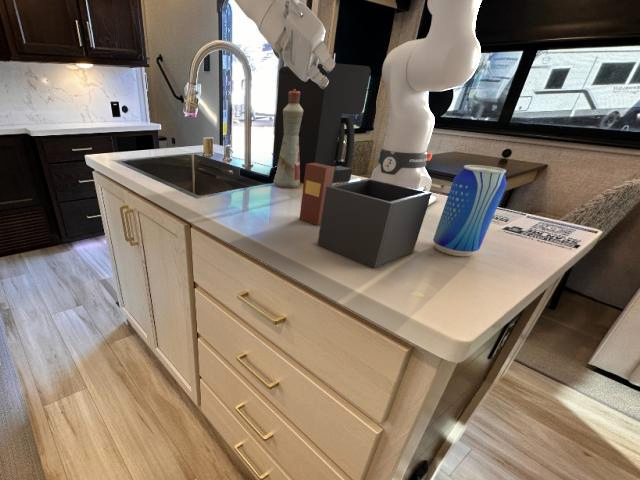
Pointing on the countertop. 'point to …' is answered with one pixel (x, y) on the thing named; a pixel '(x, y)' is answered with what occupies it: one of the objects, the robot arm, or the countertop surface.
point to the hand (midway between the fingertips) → (329, 77)
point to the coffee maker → (324, 116)
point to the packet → (315, 191)
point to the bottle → (290, 144)
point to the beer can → (469, 209)
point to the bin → (372, 220)
